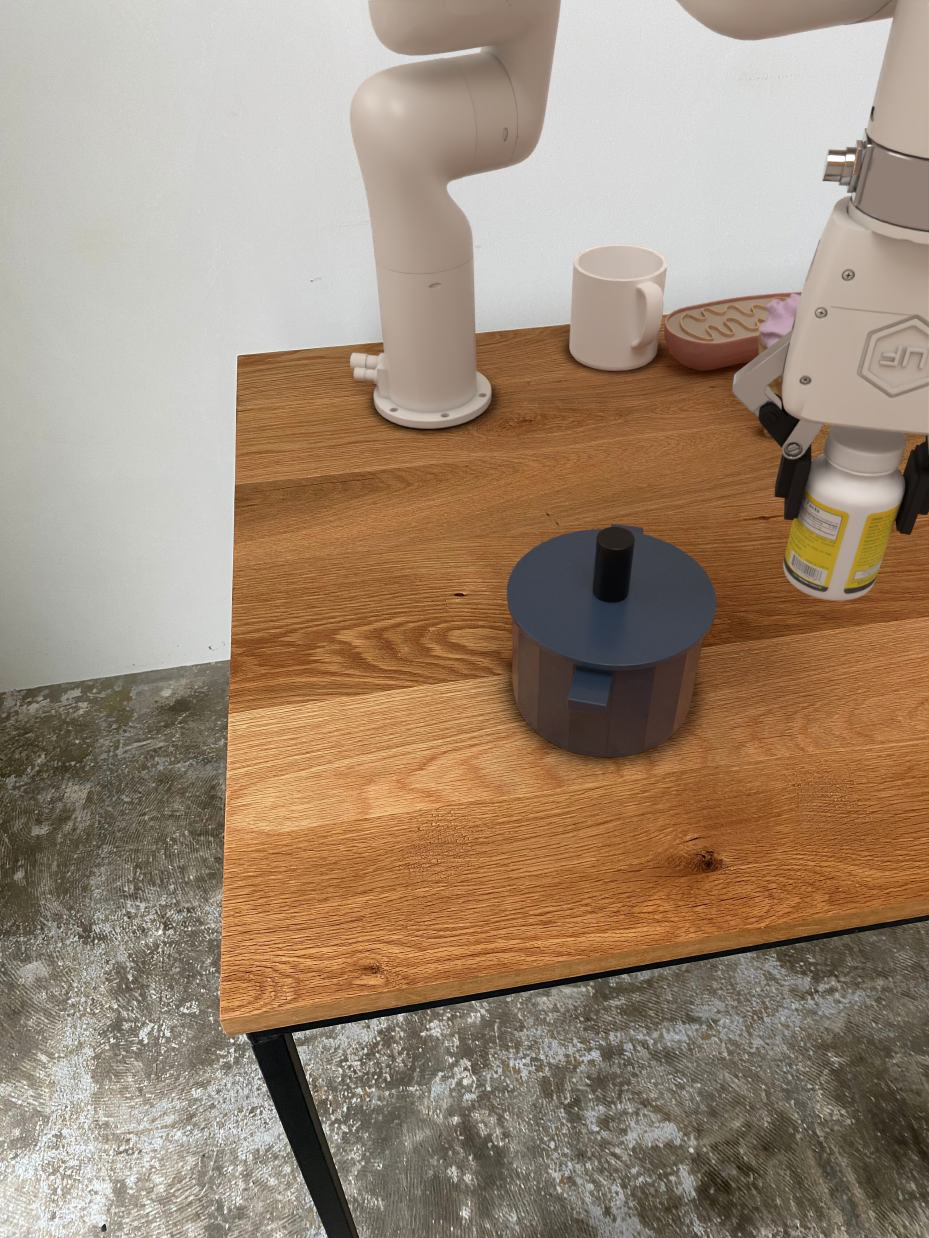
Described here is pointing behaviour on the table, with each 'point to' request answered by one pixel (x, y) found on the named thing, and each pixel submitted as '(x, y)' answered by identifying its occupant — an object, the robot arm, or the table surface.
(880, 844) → the table surface
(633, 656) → the pot lid
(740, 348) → the mitochondrion model
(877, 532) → the supplement bottle
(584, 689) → the pot
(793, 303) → the ice cream cone
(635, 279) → the mug
